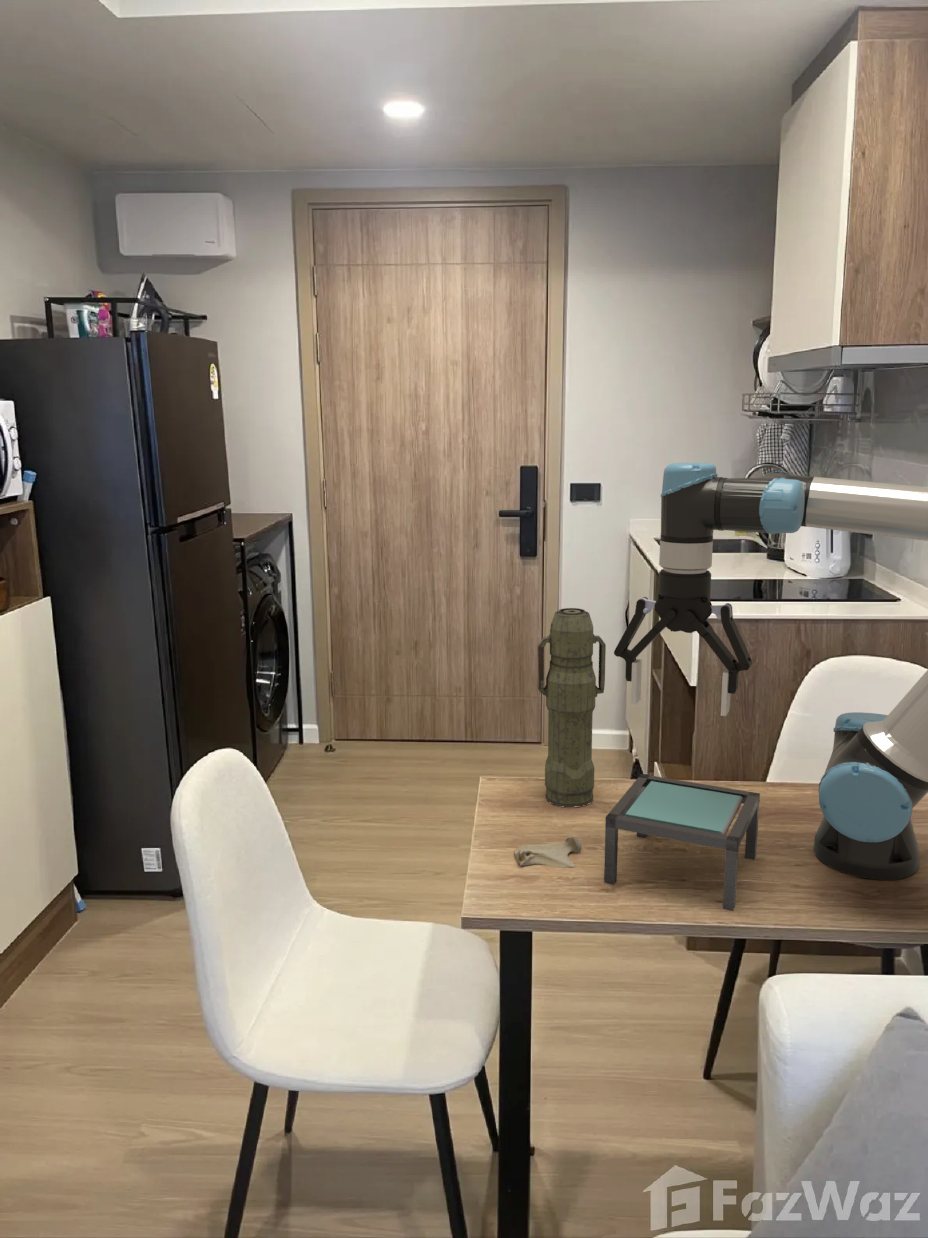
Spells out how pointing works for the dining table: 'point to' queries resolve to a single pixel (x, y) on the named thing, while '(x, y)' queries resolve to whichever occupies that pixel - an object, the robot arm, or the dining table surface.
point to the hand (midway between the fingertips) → (679, 707)
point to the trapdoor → (686, 807)
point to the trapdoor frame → (686, 831)
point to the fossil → (548, 853)
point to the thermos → (570, 706)
